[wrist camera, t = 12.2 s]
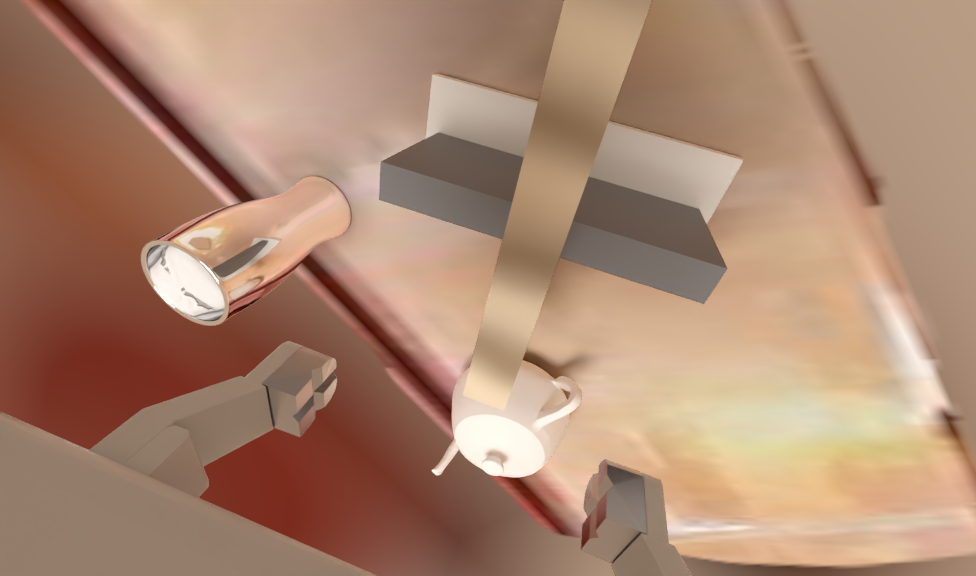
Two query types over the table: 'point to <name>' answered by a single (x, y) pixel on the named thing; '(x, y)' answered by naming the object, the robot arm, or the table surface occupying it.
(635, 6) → the birch bar
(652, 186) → the stand
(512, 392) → the teapot
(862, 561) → the table surface
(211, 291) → the beer glass
